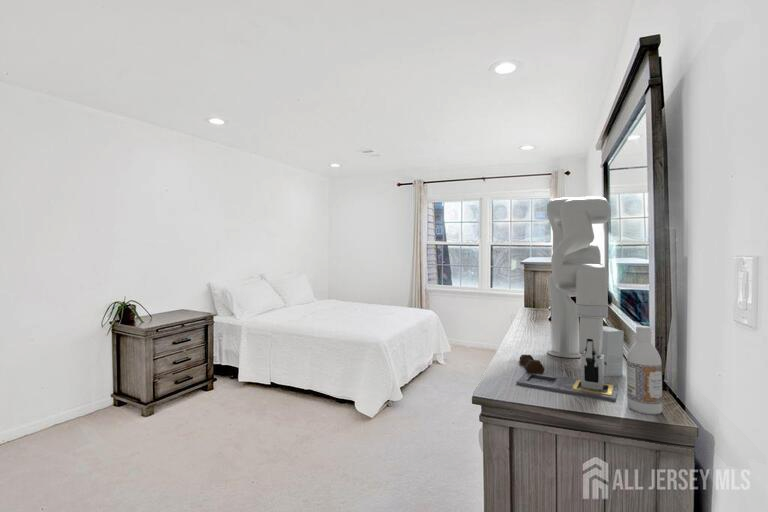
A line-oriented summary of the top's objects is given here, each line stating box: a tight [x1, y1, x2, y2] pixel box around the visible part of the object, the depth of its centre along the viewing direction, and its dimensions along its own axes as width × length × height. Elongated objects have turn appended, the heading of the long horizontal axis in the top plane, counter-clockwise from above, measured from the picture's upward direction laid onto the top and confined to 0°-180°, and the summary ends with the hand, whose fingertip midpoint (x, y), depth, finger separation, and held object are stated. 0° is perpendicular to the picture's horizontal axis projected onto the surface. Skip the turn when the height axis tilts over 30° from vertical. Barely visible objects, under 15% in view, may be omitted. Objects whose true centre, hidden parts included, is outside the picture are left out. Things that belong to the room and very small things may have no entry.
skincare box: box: [600, 325, 625, 377], centre depth 120 cm, size 8×6×15 cm
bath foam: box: [626, 325, 663, 416], centre depth 93 cm, size 7×7×20 cm
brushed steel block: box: [580, 352, 605, 390], centre depth 103 cm, size 5×5×8 cm
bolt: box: [518, 354, 545, 374], centre depth 126 cm, size 6×5×15 cm
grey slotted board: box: [515, 371, 619, 403], centre depth 107 cm, size 12×24×2 cm, turn 56°
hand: (592, 378), depth 103 cm, fingers closed on brushed steel block, 5 cm apart
